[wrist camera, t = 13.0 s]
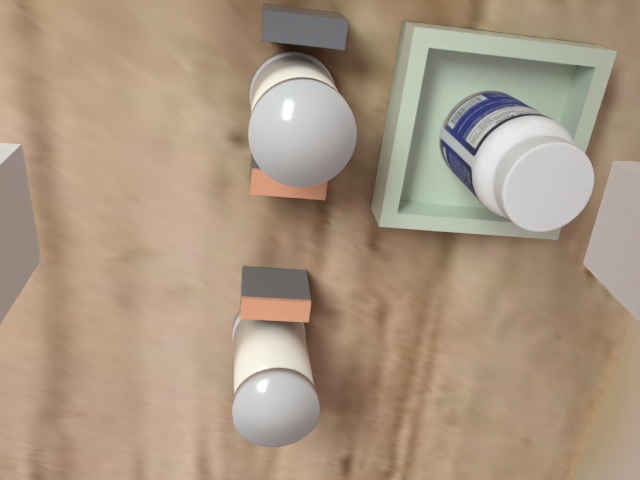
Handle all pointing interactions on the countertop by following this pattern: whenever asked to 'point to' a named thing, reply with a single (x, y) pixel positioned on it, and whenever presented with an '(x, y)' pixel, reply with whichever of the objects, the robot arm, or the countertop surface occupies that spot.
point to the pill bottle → (516, 160)
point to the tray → (451, 86)
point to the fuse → (299, 121)
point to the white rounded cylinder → (272, 382)
